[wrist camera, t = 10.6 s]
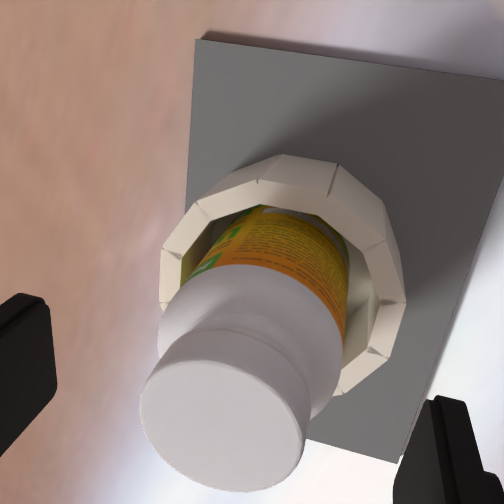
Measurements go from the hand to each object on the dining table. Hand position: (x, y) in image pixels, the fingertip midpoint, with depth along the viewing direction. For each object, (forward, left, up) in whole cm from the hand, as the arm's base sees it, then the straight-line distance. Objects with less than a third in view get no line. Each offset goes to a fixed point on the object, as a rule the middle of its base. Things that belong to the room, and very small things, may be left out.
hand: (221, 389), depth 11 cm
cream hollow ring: (+1, 0, -10) cm, 10 cm away
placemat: (+2, +1, -10) cm, 10 cm away
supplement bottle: (0, 0, -9) cm, 9 cm away
